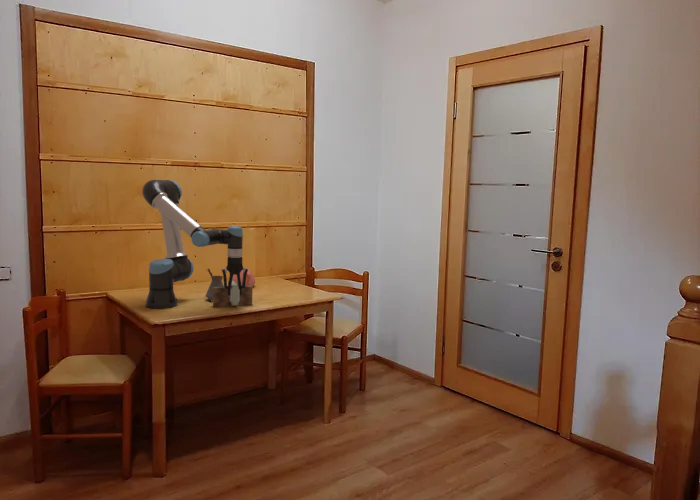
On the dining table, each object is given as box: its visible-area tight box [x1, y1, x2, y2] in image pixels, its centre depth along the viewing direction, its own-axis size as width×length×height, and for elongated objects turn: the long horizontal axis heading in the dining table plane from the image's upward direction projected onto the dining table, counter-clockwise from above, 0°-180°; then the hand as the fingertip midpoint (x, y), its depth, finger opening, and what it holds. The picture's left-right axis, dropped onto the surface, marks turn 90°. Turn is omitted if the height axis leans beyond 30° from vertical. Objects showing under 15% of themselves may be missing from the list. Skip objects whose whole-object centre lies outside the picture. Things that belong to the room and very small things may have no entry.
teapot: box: [232, 266, 256, 288], centre depth 328 cm, size 22×16×12 cm
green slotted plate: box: [227, 280, 238, 305], centre depth 277 cm, size 3×14×10 cm, turn 22°
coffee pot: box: [205, 268, 224, 302], centre depth 293 cm, size 21×12×15 cm, turn 33°
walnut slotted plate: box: [212, 286, 253, 308], centre depth 278 cm, size 20×3×10 cm, turn 112°
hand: (234, 301), depth 273 cm, fingers closed on green slotted plate, 3 cm apart
